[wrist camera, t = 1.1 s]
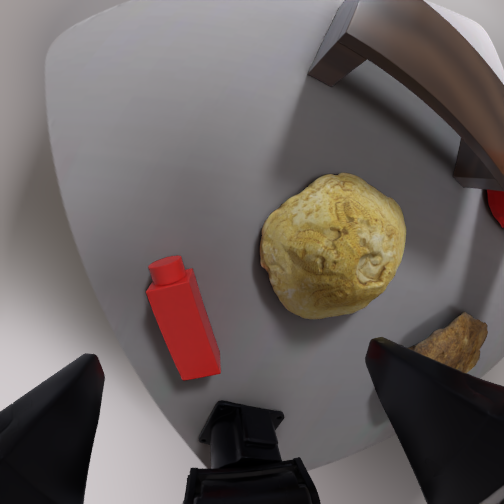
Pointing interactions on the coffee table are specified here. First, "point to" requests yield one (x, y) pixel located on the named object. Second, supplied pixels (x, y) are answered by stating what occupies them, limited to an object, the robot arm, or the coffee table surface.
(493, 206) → the water bottle
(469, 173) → the shelf
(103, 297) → the coffee table surface
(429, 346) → the decorative rock
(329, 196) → the fossil
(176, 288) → the red square bottle
